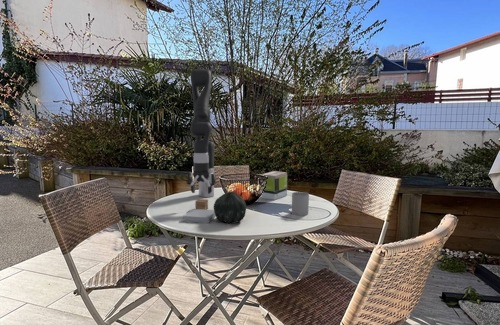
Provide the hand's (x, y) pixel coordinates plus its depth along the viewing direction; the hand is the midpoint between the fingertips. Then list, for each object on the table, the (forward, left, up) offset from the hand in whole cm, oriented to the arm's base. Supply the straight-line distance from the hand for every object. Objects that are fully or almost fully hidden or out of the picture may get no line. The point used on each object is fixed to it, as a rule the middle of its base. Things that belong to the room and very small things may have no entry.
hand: (201, 193), depth 160 cm
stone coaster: (+14, +4, -9) cm, 17 cm away
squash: (+14, +19, -9) cm, 25 cm away
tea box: (-36, +34, -9) cm, 51 cm away
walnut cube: (0, 0, -9) cm, 9 cm away
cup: (-4, +50, -9) cm, 51 cm away
